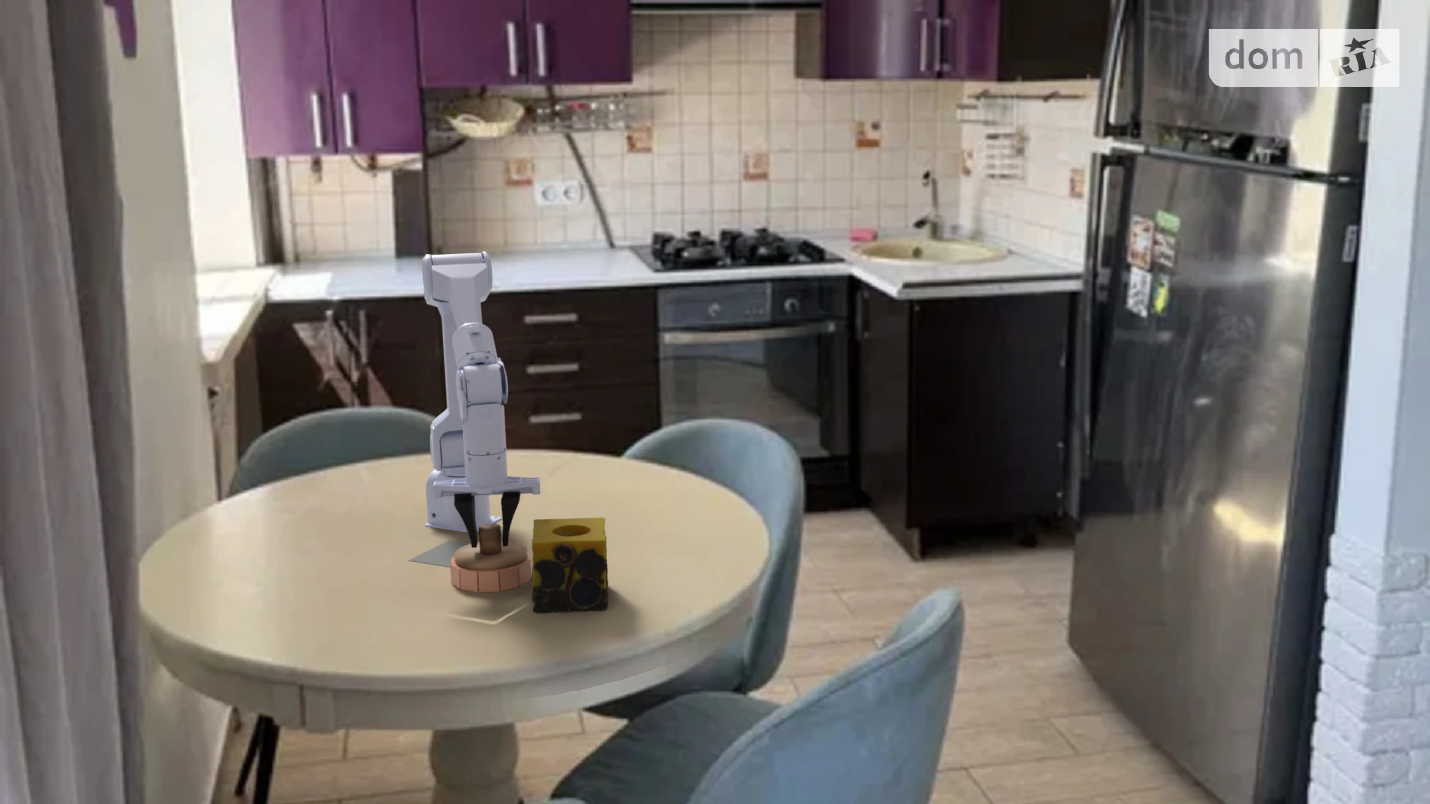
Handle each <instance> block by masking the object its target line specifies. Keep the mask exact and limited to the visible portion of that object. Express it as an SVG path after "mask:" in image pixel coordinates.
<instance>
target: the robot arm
mask: <svg viewBox="0 0 1430 804" xmlns="http://www.w3.org/2000/svg"><path fill="white" fill-rule="evenodd" d="M421 261H422V262H421V268H422V269H421V270H422V271H421V272H422V273H421V274H422V283H423V296H424V300H425V303H426V305H429V306H433V307H436V308H437V310H438V312H439V315H440V317H441V325H442V326H441V327H442V342H443V344H442V345H443V358H444V359H443V361H444V374H445V375H444V376H445V377H444V378H445V392H446V395H445V397H446V409H445V410H444V411H443V412H441V413H440V414H439V415H438V416H437V417H435V418H434V419H433V420H432V422H431V424H430V427H429V428H430V435H429V436H430V437H429V445H430V446H429V447H430V459H431V465H432V468H433V470H432V471H431V472H430V473H429V475H428V477H427V480H426V484H425V495H426V496H425V497H426V498H425V499H426V508H427V509H426V511H427V512H426V513H427V514H426V515H427V522H426V523H425V525H424V526H425V527H427V528H433V529H434V528H435V529H443V530H447V531H448V530H449V531H455V532H461V533H462V532H463V533H467V534H468V537H469V540H470V543H471V546H472V548H477V544H478V542H479V541H478V540H479V534H478V533H479V526H481V525H484V524H497V523H498V522H500V521H502V534H501V540H502V543H503V546H508V543H509V541H510V540H509V539H510V529H511V525H512V521H513V519H514V516H515V514H516V511H517V508H518V506H519V504H520V500H521V495H523V494H532V495H534V496H535V495H541V477H540V476H539V477H537V476H536V477H530V476H529V477H527V476H526V477H525V476H510V475H508V462H507V461H508V460H507V459H508V458H507V440H506V438H507V437H506V419H505V417H506V416H505V405H507V403H508V396H509V395H508V394H509V387H508V386H509V385H508V377H507V371H506V368H505V365H504V362H503V361H502V359H501V357H498V354H497V350H496V344H495V340H494V335H493V334H494V333H493V332H492V330H491V328H489V327H488V326H487V325H485V324H484V323H483V318H482V317H483V316H482V305H481V303H483V302H485V301H486V300H487V299H488V296H489V295H490V293H491V291H492V289H493V282H494V281H493V277H494V276H493V265H492V260H491V256H490V255H489V254H488V252H486V251H481V252H470V253H469V252H468V253H449V254H446V253H445V254H430V253H429V254H425V256H424V257H423V258H422V260H421ZM502 402H503V403H502ZM504 404H505V405H504ZM495 495H496V496H497V495H501V499H500V505H501V506H500V507H501V516H496V515H491V504H490V496H495Z"/></svg>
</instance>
